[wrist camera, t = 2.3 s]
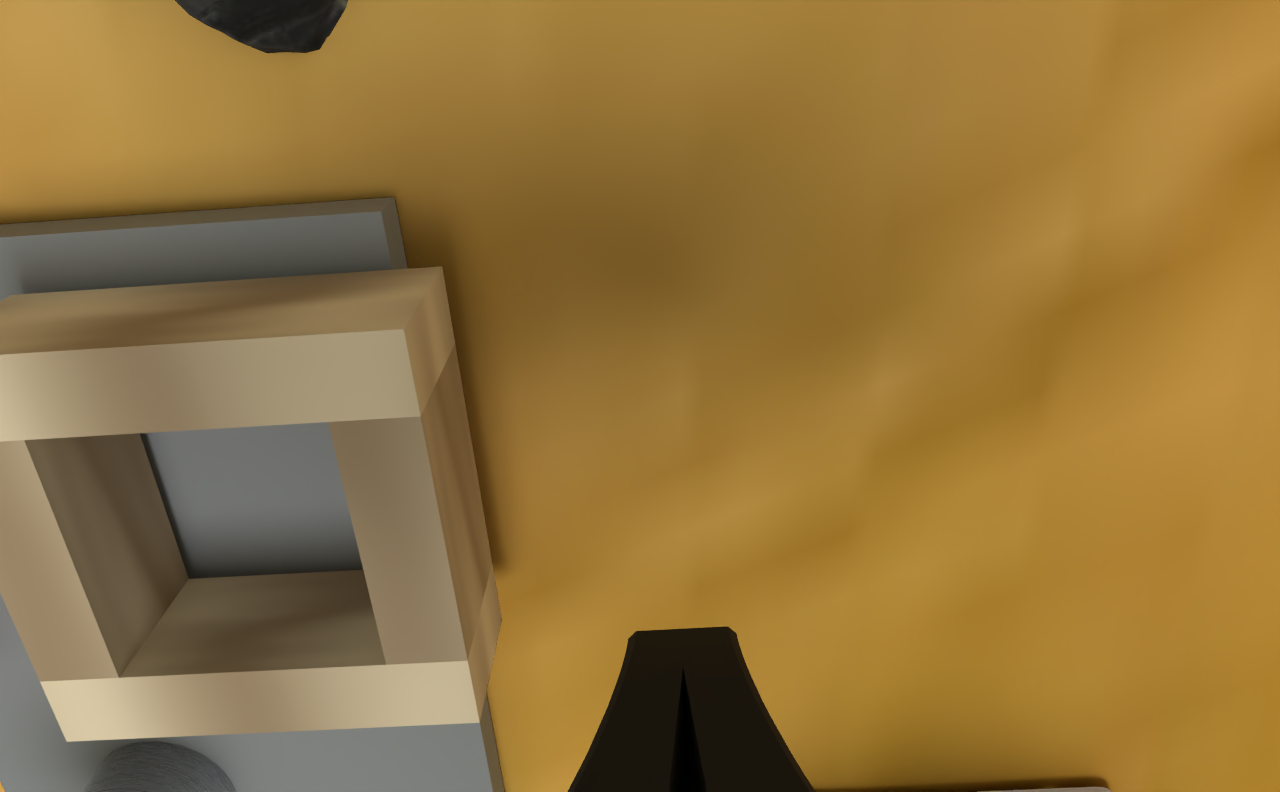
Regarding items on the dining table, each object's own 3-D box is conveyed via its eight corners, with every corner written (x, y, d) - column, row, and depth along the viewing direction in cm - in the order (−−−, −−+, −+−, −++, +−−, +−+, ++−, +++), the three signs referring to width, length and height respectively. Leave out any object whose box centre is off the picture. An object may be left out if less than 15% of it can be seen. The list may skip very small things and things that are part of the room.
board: (394, 197, 18) (321, 275, 14) (517, 856, 26) (491, 1027, 22) (-218, 239, 19) (-457, 326, 15) (83, 874, 27) (-19, 1044, 23)
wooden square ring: (442, 266, 17) (403, 329, 15) (501, 619, 21) (479, 723, 18) (11, 294, 18) (-104, 361, 15) (140, 638, 21) (66, 741, 19)
